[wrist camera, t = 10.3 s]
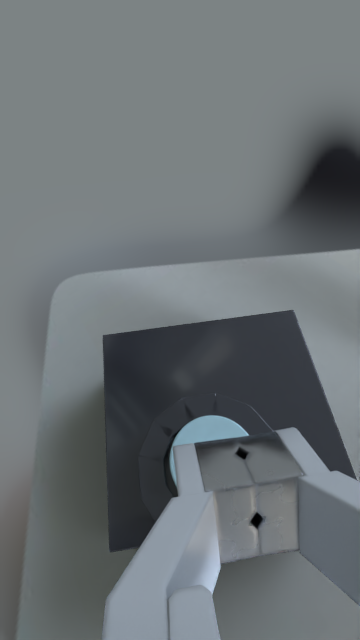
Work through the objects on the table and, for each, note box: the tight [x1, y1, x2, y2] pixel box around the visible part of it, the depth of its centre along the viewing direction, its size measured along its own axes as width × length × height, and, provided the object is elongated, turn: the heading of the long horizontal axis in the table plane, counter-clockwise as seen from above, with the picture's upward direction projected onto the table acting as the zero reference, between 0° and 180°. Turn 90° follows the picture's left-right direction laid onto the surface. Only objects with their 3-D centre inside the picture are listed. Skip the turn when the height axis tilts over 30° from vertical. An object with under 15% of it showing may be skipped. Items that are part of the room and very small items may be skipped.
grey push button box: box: [103, 310, 357, 552], centre depth 20 cm, size 12×12×8 cm
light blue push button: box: [169, 415, 249, 488], centre depth 14 cm, size 4×4×2 cm
